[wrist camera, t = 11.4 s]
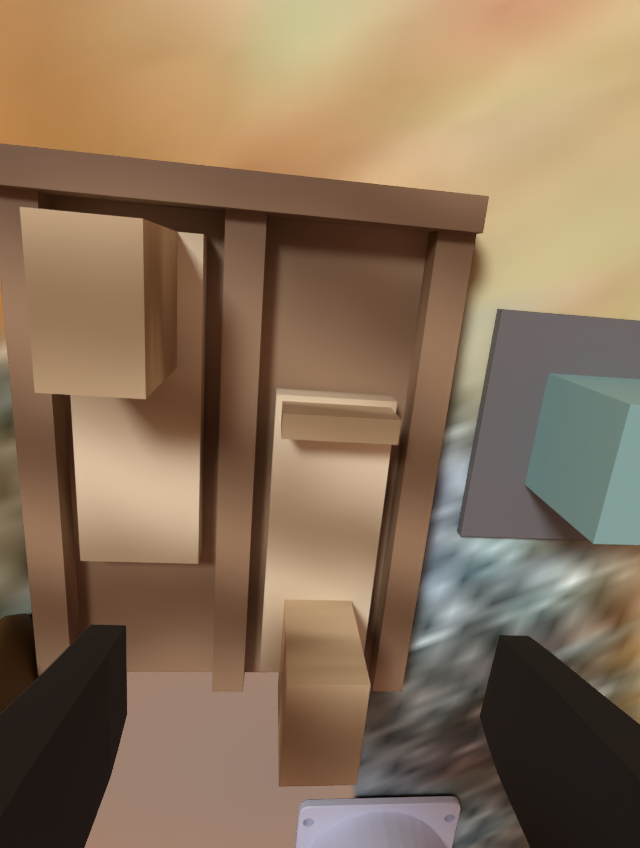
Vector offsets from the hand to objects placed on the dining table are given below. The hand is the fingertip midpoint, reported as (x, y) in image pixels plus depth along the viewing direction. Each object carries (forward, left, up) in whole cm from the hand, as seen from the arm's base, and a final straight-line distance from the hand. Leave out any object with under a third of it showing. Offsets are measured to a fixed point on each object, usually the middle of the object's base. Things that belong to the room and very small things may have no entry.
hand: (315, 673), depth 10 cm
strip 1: (+3, +5, -9) cm, 11 cm away
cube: (+2, -11, -10) cm, 15 cm away
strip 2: (-2, -1, -9) cm, 9 cm away
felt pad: (+2, -11, -10) cm, 15 cm away
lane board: (+1, +2, -10) cm, 10 cm away
